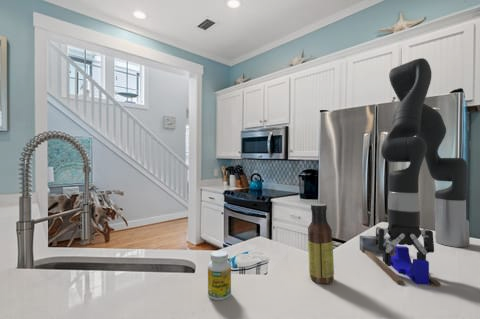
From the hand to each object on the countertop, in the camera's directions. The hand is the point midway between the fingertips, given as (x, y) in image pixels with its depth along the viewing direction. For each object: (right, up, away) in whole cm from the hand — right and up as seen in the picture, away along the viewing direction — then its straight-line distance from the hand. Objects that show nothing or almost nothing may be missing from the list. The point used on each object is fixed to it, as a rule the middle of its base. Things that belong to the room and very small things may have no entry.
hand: (403, 266), depth 70 cm
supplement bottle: (-51, -2, -12) cm, 52 cm away
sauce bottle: (-25, -2, -4) cm, 25 cm away
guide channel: (+1, -2, +6) cm, 6 cm away
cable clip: (+1, -3, 0) cm, 3 cm away
